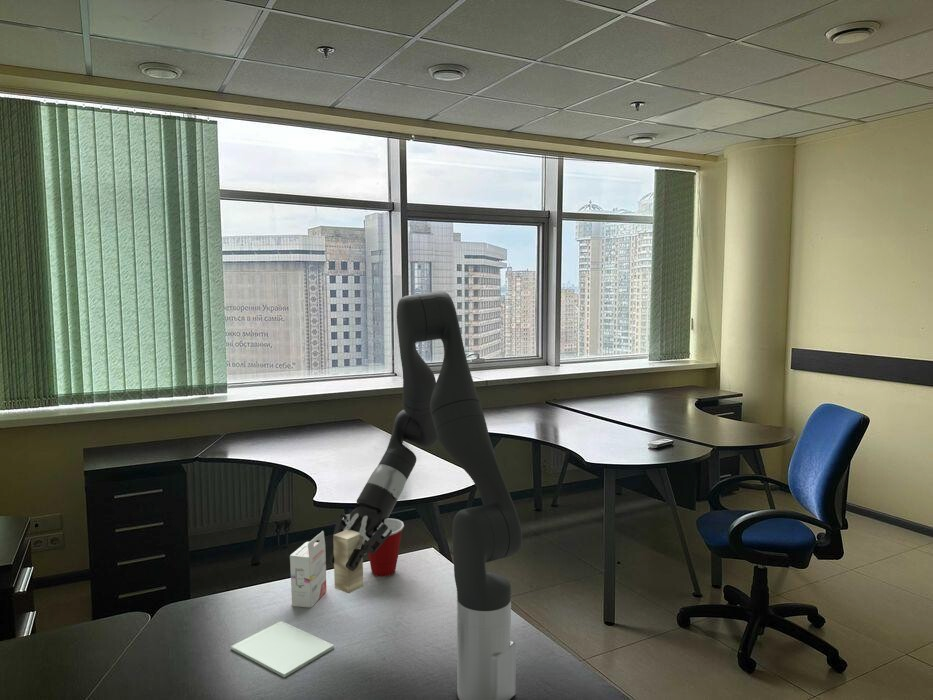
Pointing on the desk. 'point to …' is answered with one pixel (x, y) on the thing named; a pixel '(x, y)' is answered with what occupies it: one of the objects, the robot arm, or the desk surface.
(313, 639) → the sage mat
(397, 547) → the plastic cup
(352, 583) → the birch block
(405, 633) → the desk surface
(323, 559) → the ink cartridge box
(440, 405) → the robot arm
